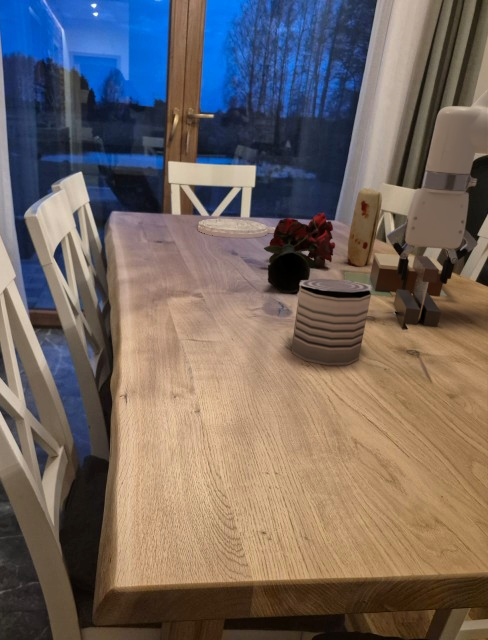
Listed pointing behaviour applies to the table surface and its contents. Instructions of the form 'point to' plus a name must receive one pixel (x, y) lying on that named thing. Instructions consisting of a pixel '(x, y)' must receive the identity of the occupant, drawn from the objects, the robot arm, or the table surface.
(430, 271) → the knife
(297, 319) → the can
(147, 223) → the table surface
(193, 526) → the table surface
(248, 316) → the table surface
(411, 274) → the cake
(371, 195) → the food model
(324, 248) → the rose vase
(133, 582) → the table surface
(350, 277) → the green flat square board
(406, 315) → the knife block
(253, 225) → the medallion
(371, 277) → the cake slice
